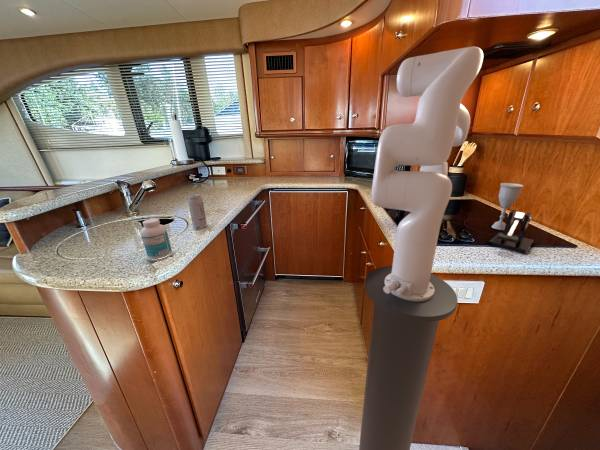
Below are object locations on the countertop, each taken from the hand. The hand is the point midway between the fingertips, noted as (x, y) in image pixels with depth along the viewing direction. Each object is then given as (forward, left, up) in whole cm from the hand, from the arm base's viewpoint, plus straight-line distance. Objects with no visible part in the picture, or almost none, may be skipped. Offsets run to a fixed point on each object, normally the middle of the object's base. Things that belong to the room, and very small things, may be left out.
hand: (428, 201), depth 103 cm
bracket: (0, -30, -10) cm, 32 cm away
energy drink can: (-78, +66, -10) cm, 103 cm away
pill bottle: (-98, +45, -10) cm, 109 cm away
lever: (-4, -30, -3) cm, 30 cm away
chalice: (+16, -23, -10) cm, 30 cm away
